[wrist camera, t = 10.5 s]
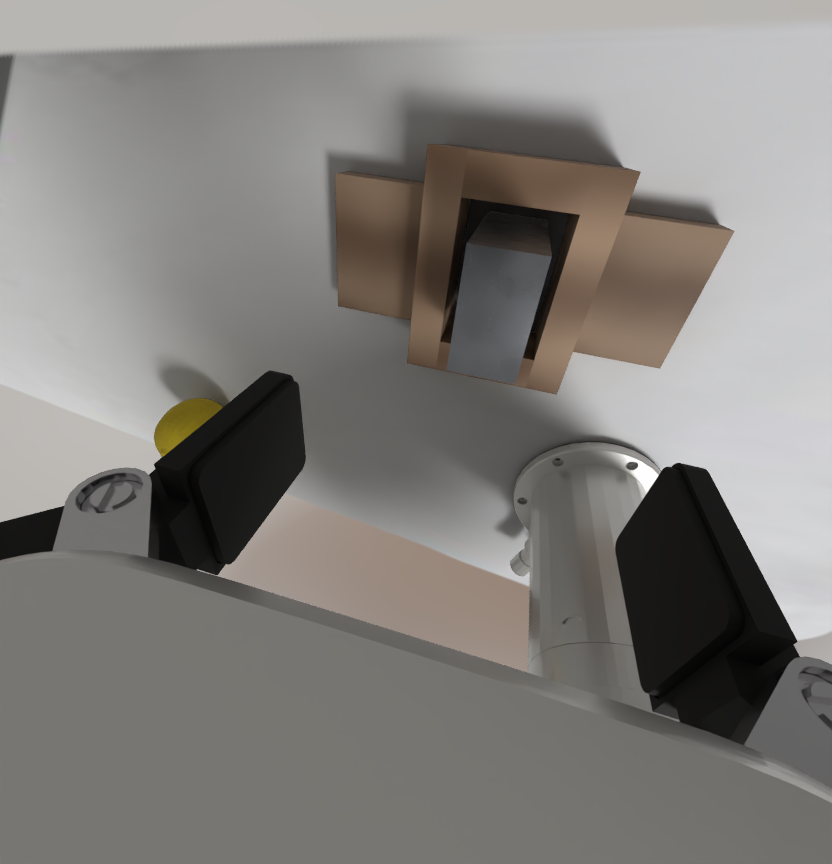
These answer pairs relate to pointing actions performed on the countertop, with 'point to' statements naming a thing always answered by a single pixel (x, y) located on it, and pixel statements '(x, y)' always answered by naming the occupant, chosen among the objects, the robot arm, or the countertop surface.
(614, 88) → the countertop surface
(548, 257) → the bracket
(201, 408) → the lemon
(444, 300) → the socket
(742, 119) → the countertop surface
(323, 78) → the countertop surface
